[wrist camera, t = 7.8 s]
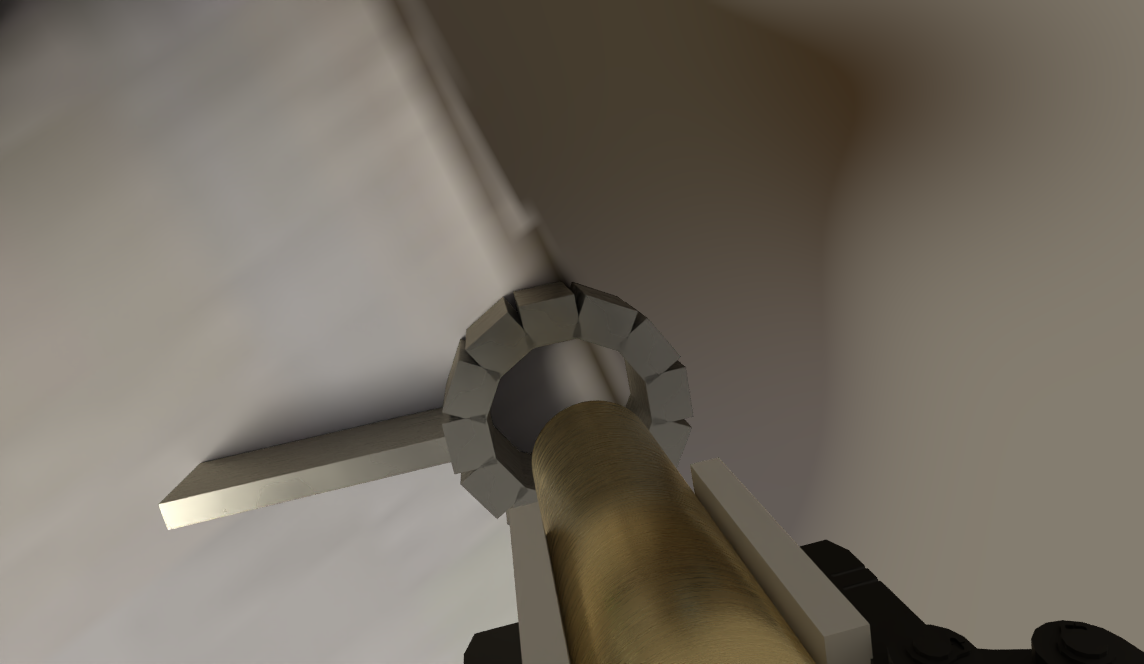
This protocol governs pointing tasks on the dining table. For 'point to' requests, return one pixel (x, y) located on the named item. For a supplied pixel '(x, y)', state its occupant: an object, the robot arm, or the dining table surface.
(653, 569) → the pin
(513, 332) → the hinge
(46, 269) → the dining table surface
